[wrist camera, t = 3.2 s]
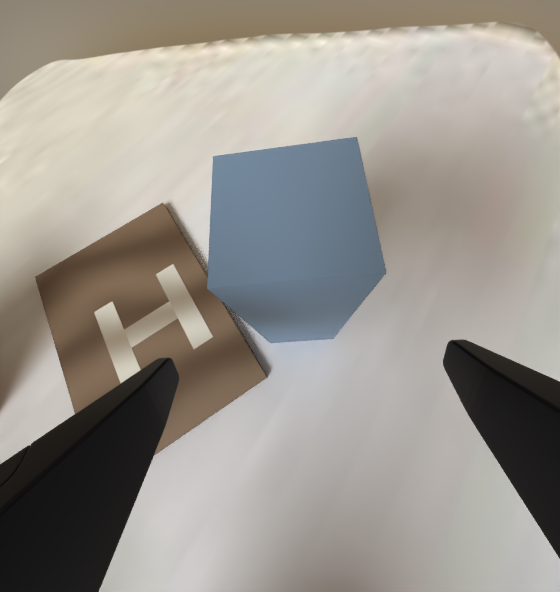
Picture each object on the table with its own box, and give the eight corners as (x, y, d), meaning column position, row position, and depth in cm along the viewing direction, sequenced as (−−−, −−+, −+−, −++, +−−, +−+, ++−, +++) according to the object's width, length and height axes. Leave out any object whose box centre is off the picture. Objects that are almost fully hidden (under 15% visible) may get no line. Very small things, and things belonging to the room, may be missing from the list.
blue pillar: (332, 338, 19) (386, 272, 6) (270, 342, 19) (207, 288, 7) (325, 280, 20) (356, 136, 8) (268, 285, 21) (213, 156, 8)
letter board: (267, 377, 18) (266, 377, 18) (105, 488, 17) (98, 493, 16) (166, 206, 24) (162, 202, 24) (41, 279, 23) (34, 276, 23)
